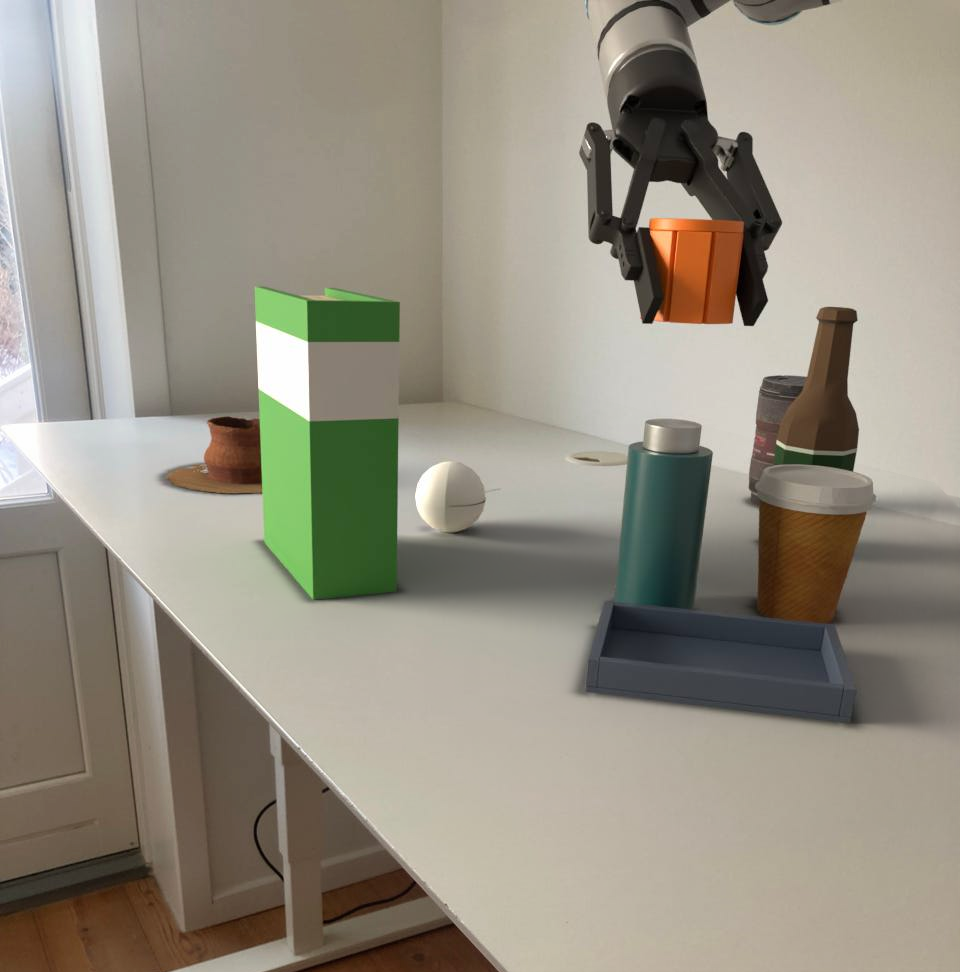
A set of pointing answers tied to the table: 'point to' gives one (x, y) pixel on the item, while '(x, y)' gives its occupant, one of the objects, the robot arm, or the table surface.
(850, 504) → the disposable coffee cup
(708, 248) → the cap
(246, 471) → the ceramic pot
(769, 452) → the travel mug
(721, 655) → the tray
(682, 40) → the robot arm
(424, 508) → the white ball
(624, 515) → the water bottle
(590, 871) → the table surface
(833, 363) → the beer bottle
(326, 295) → the hardback book
